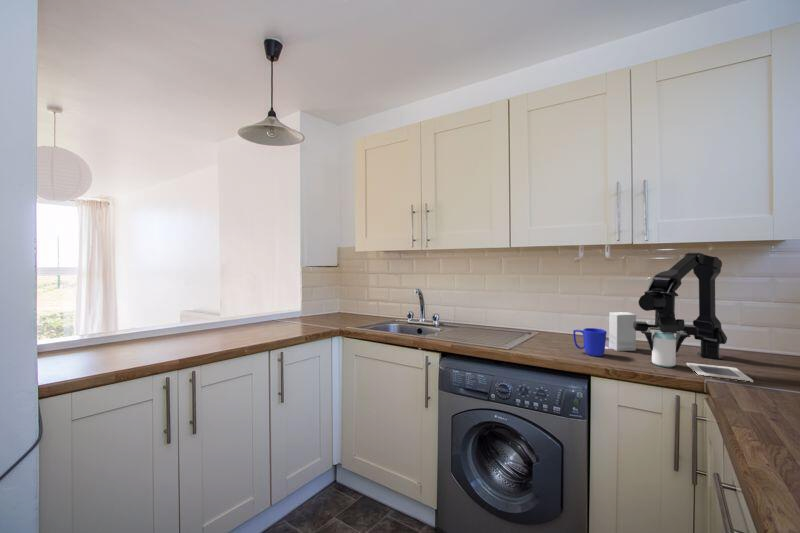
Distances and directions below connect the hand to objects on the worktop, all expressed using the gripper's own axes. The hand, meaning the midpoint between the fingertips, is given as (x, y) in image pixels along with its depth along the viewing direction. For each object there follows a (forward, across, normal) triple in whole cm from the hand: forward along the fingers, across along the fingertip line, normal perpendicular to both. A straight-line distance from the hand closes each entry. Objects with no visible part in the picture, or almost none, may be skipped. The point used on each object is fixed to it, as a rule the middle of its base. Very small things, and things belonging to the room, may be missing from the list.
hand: (663, 351), depth 133 cm
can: (+5, 0, 0) cm, 5 cm away
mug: (+5, -24, +5) cm, 25 cm away
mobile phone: (+6, -15, +25) cm, 30 cm away
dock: (+5, +15, -2) cm, 16 cm away
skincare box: (+5, -11, +19) cm, 23 cm away
